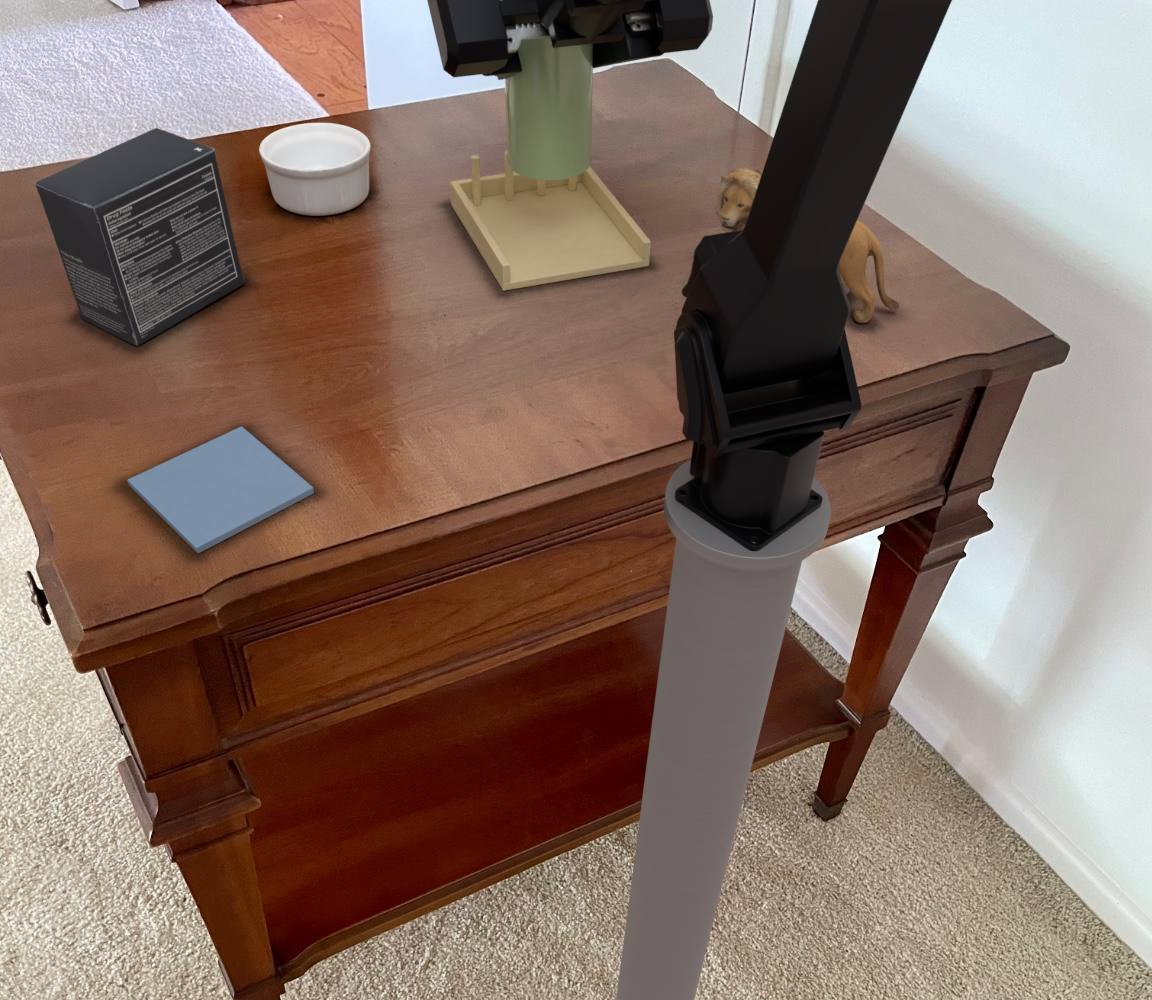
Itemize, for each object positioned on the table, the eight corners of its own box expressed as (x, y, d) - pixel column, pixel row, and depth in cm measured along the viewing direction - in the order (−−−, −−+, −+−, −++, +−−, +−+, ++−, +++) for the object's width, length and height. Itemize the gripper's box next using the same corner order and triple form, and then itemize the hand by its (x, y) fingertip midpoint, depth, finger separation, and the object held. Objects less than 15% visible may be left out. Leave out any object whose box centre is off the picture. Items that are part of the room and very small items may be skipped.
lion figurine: (698, 295, 86) (712, 182, 79) (713, 261, 89) (727, 150, 83) (893, 331, 83) (924, 217, 77) (901, 295, 87) (931, 182, 80)
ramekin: (267, 174, 97) (258, 124, 94) (371, 168, 98) (366, 118, 95) (268, 225, 91) (258, 173, 88) (379, 217, 92) (374, 166, 89)
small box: (188, 257, 87) (155, 122, 80) (248, 284, 85) (221, 147, 77) (75, 318, 81) (28, 177, 73) (137, 349, 79) (95, 207, 71)
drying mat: (314, 493, 69) (313, 487, 68) (197, 554, 65) (195, 548, 65) (243, 431, 73) (241, 425, 72) (128, 485, 69) (126, 479, 68)
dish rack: (649, 266, 88) (654, 211, 85) (503, 291, 85) (502, 234, 82) (585, 185, 97) (587, 132, 94) (451, 205, 94) (448, 151, 91)
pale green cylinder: (608, 163, 87) (614, -22, 77) (546, 188, 84) (544, -1, 74) (552, 136, 90) (551, -45, 81) (490, 160, 87) (482, -25, 78)
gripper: (715, -195, 70) (635, -53, 85) (423, -179, 65) (392, -32, 80) (754, -15, 71) (667, 94, 86) (467, 14, 66) (429, 124, 81)
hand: (542, 67), depth 83 cm, fingers closed on pale green cylinder, 6 cm apart
